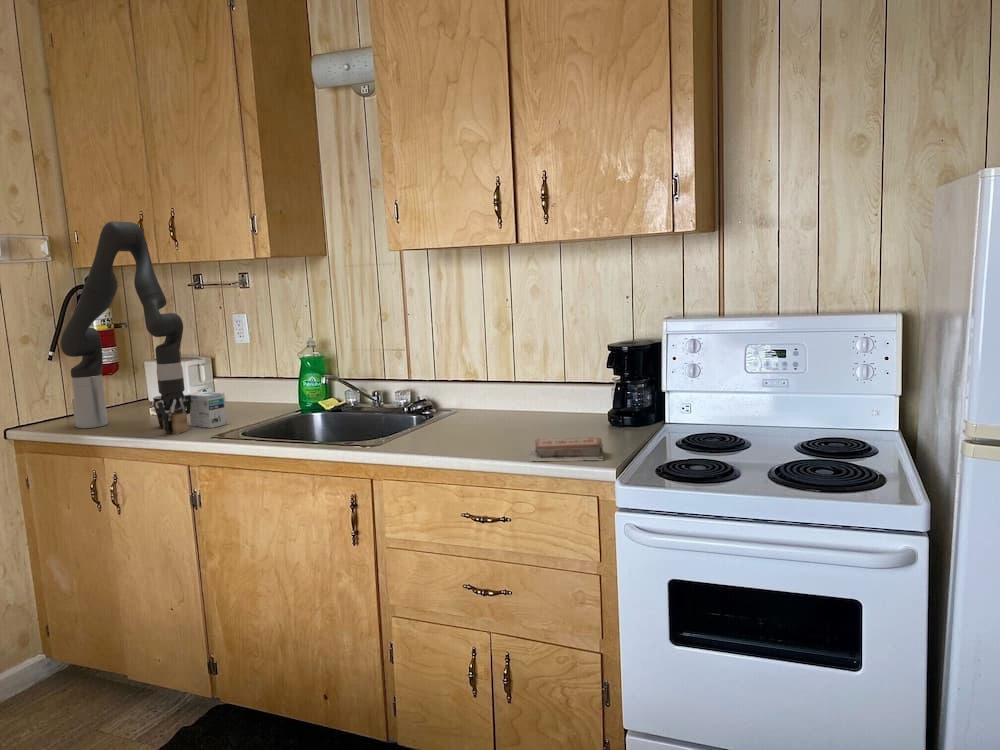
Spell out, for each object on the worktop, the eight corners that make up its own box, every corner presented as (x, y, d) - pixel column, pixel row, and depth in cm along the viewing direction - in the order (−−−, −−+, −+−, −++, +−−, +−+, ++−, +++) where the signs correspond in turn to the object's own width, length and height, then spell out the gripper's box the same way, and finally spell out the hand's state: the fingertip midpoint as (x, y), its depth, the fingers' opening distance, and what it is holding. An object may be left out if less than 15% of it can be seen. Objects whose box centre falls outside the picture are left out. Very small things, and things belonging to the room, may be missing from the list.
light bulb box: (228, 424, 251) (225, 392, 250) (210, 428, 246) (207, 395, 244) (207, 422, 257) (204, 390, 256) (189, 426, 251) (186, 394, 250)
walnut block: (164, 433, 240) (162, 415, 240) (175, 430, 245) (173, 412, 244) (176, 434, 239) (174, 415, 238) (188, 430, 243) (186, 412, 242)
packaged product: (602, 433, 191) (603, 442, 182) (602, 452, 192) (603, 462, 182) (530, 435, 193) (527, 444, 184) (531, 454, 194) (528, 464, 184)
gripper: (177, 374, 247) (183, 425, 250) (143, 380, 234) (149, 435, 236) (196, 374, 245) (201, 426, 247) (162, 380, 231) (168, 435, 234)
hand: (175, 430), depth 242 cm, fingers closed on walnut block, 5 cm apart
